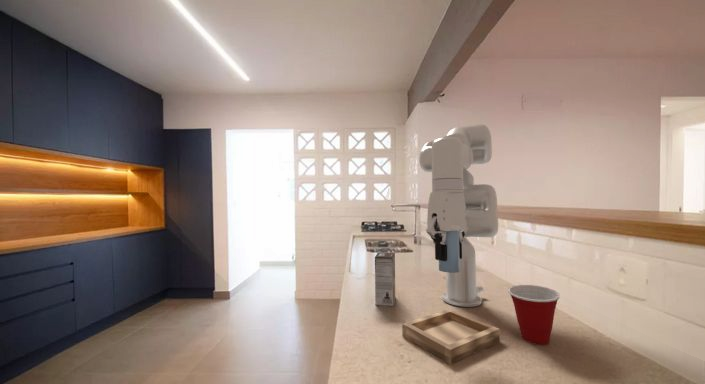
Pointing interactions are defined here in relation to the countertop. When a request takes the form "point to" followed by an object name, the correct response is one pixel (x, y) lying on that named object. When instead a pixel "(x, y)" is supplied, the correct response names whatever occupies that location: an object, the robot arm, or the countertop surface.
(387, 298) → the coffee box
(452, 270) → the shaker
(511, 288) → the plastic cup
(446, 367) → the countertop surface
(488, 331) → the tray
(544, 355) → the countertop surface
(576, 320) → the countertop surface
